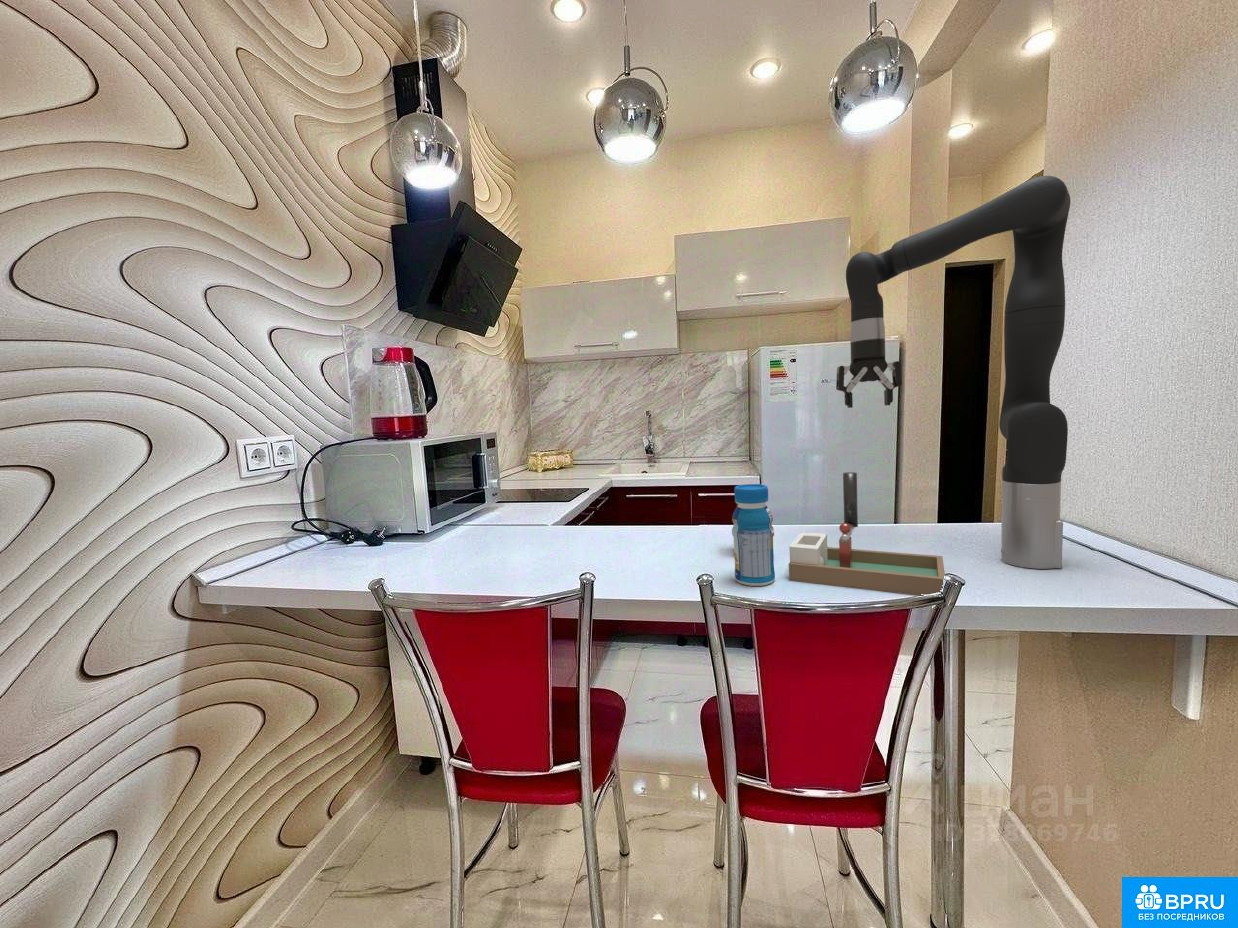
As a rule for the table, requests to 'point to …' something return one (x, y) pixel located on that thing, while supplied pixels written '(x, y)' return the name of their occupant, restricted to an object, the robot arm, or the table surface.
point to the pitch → (864, 568)
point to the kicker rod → (848, 518)
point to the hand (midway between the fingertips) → (868, 406)
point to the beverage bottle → (753, 536)
